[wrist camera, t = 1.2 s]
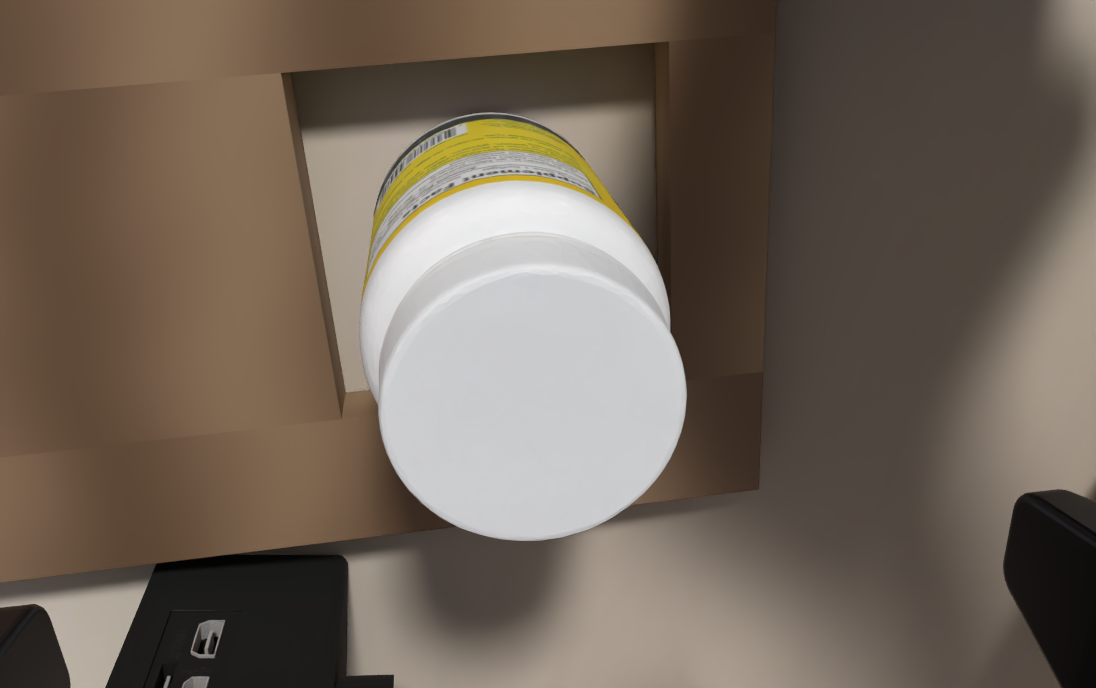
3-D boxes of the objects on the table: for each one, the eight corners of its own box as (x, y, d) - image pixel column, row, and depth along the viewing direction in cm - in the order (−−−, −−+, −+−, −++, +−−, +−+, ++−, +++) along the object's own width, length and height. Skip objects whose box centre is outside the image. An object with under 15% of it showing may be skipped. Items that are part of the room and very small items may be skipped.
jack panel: (759, -146, 17) (785, -151, 16) (742, 461, 23) (761, 494, 22) (-823, -43, 15) (-936, -40, 14) (-425, 602, 21) (-480, 647, 19)
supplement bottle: (585, 337, 21) (678, 577, 13) (368, 321, 20) (336, 567, 13) (620, 119, 19) (752, 255, 11) (382, 92, 18) (354, 219, 11)
